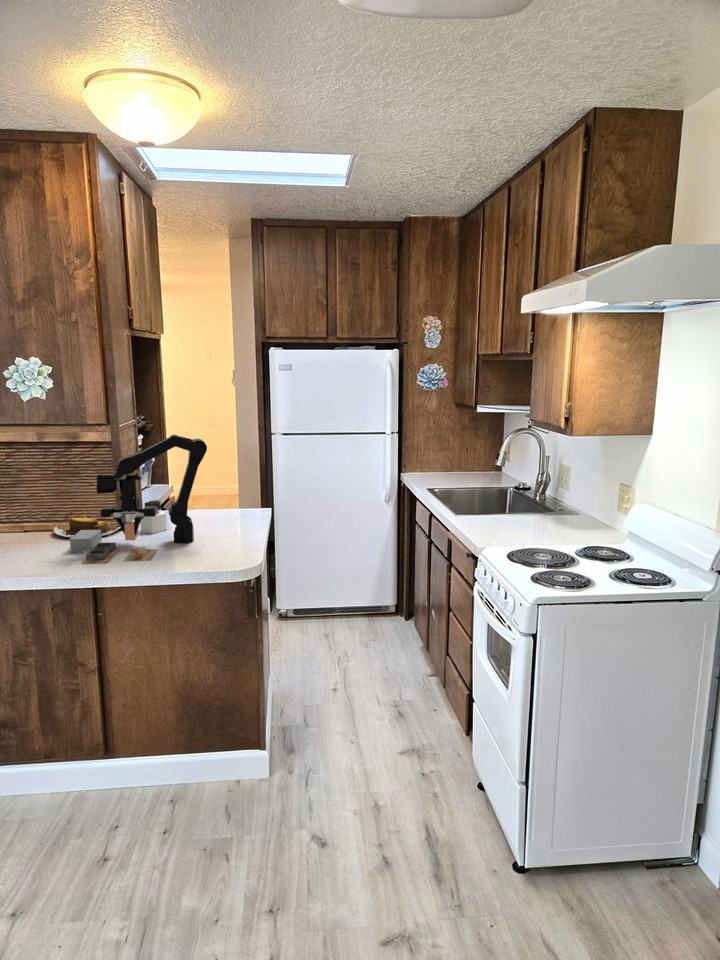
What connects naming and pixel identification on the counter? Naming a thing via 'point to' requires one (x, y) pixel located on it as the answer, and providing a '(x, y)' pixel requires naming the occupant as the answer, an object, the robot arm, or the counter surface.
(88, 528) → the food on plate
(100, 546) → the socket board
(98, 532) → the housing
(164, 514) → the medicine bottle
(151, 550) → the plate
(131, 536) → the tan rectangular block
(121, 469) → the robot arm
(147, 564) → the counter surface
